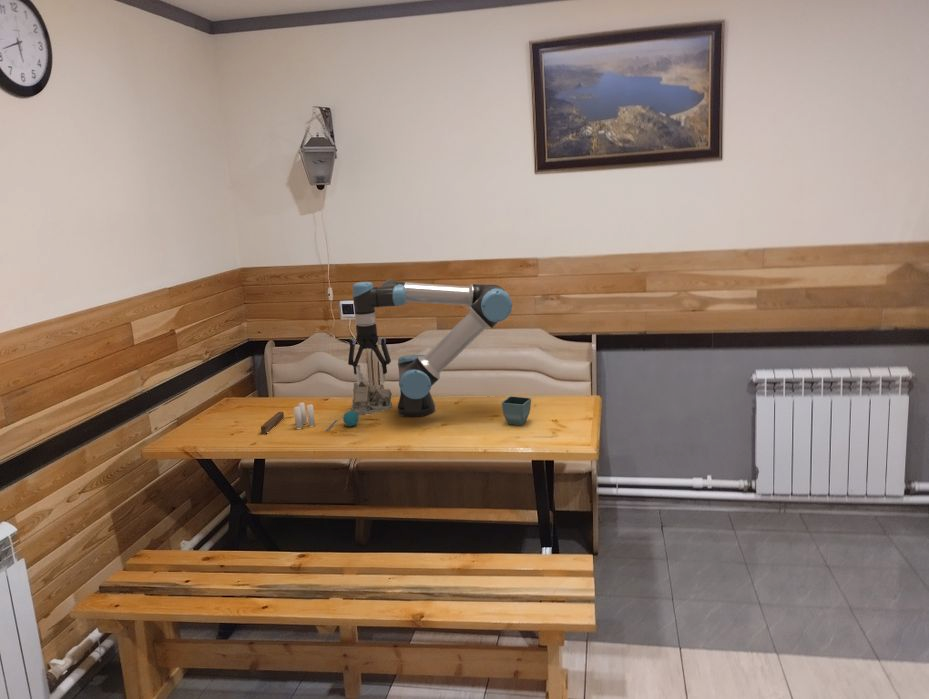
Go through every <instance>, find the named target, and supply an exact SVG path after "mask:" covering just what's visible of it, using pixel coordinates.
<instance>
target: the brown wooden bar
mask: <svg viewBox="0 0 929 699" xmlns="http://www.w3.org/2000/svg"><path fill="white" fill-rule="evenodd" d="M283 418H284V419H285V414H284V411H278V412H277V413H275V414H274V415H273V416H271V417H270V418H269V419H268V420H267V421H266V422H264V424H262V425H261V426H260V431H261V435H267V434H268V433H267V432H269V431H270V430H271V429H272V428H273V427H274V426H275V427H276V425H277V424H278V423H279V422H280V421H281V420H282V419H283ZM284 419H283V420H284ZM283 420H282V421H283ZM282 421H281V422H282ZM281 422H280V423H281ZM280 423H279V424H280ZM279 424H278V425H279ZM278 425H277V426H278ZM275 427H274V428H275ZM274 428H273V429H274ZM273 429H272V430H273ZM272 430H271V431H272ZM271 431H270V432H271ZM270 432H269V433H270ZM266 433H267V434H266Z"/></svg>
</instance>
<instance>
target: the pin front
mask: <svg viewBox="0 0 929 699" xmlns="http://www.w3.org/2000/svg"><path fill="white" fill-rule="evenodd" d="M306 410H307V413H306V414H307V420H308V421H307V423H308V427H309V426H314V427H316V422H315V413H314V411H315V410H314V405H313V404H307V405H306Z"/></svg>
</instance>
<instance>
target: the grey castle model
mask: <svg viewBox="0 0 929 699" xmlns="http://www.w3.org/2000/svg"><path fill="white" fill-rule="evenodd" d="M352 389H353V390H352V391H353V398H352V404H351V409H350V411H355V412H356V413H357V414H358V416H366V415H365V414H369V415H373V414H375V412H377V413H380V411H381V412H384V411H388V410H391V409H392V408H393V402H392V401H391V400H392V391H391V390H390V389H388V388H387V389H385V387H384V383H380V384H378V385H377V384H376V385H371V384H370V382H369V381H367V379H366V378H365V377H364V376H363V373H362V372H361V382H360V383H357V381H355V382H353V388H352ZM372 413H373V414H372Z"/></svg>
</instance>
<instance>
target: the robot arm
mask: <svg viewBox="0 0 929 699" xmlns="http://www.w3.org/2000/svg"><path fill="white" fill-rule="evenodd" d="M352 300H353V307H354V308H353V309H354V318H355V319H354V321H355V324H356V326H355V330H356V338H350V339H349V340H348V343H349V350H348V351H349V352H348V353H349V354H348V360H347V361H348V362H347V364H348V366H352V367H353V374H354V375H356V382H357V383H358V384H359V383H360V382H361V373H362V372H361V365H360V364H359V362H360V359H361V356H362V354H363V351H364V350H367V349H369V350H372V351H373V352H374V354H375V356H376V357H377V359H378V361H379V363H380V366H379V370H380V379H381V380H380V381H381V383H380V384H384V383H385V382H386V375H387V372H388V369H387V365H389V364H390V363H391V362H392V360H391V356H390V352H389V349H388V346H387V344H386V343H387V339H386V337H379V336H378V329H377V324H376V322H377V321H376V320H377V317H376V308H382V307H383V308H386V307H400V306H405V305H406V304H407V302H410V303H423V304H424V303H425V304H437V305H450V306H464V307H466V306H467V307H468V309H469V312H468V314H466V316H464V317H463V318H462V319H461V320H460V321H459V322H458V323H456V325H455V326H454V327H453V328H452V329H451V330H450V331H449V332H448V333H447V334H446V335H445V336H444V337H443V338H442V339H441V340H440V341H438V342H437V344H435V346H433V348H431V349H430V350H429V351H428V352H427V353H426V354H410V355H409V354H407V355H403V356H400V357H398V359H397V367H398V385H399V386H398V387H399V390H400V396H399V399H398V402H397V404H398V405H397V414H398V416H402V417H405V418H407V417H409V418H419V417H423V416H428V415H432V414H433V413H435V411H436V404H435V401H434V398H433V396H432V395H431V389H432V386H433V385H434V384H435V383H437V382H438V380H440V378H441V376H440V375H441V372H442V371H444V369H446V368H447V367H448V365H450V364H451V362H453V361H454V360H455V359H456V358H457V357H458V356H459V355H460V354H462V352H463V351H464V350H465V349H466V348H468V346H469V345H471V344H472V342H473V341H474V340H476V338H478V337H479V336H480V335H481V334H482V333H483V332H484V331H485V330H488V329H489V330H492V329H493V328H494V327H495V326H496V325H497V324H498V323H501V322H503V321H505V320H506V319H507V318H508V317H509V316H511V315H510V314H511V313H512V309H513V301H512V298H511V296H510V294H509V293H508V292H507V291H506V290H505V289H504V288H503V287H501V286H499V285H497V284H482V283H481V284H479V283H478V284H477V283H476V284H474V283H471V284H470V285H468V286H467V285H453V284H437V283H436V284H435V283H422V282H410V281H397V280H394V279H388V280H385V281H384V282H383V283H382V284H381V285H380V286H374V285H373V282H372V281H371V282H370V281H360V282H355V283H354V284H353V285H352ZM378 342H379V344H380V345H381V346H380V347H381V350H382V352H381V351H380V349H379V346H378V345H377V343H378ZM356 343H357V344H358V345H359V347H358V351H357V353H356V356H355V348H356ZM354 356H355V357H354Z"/></svg>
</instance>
